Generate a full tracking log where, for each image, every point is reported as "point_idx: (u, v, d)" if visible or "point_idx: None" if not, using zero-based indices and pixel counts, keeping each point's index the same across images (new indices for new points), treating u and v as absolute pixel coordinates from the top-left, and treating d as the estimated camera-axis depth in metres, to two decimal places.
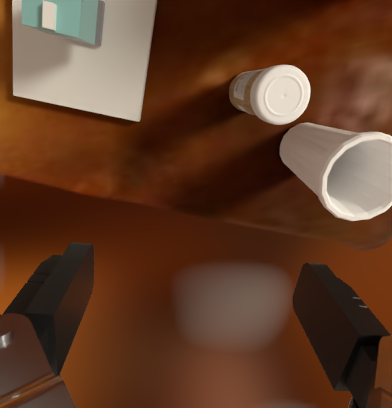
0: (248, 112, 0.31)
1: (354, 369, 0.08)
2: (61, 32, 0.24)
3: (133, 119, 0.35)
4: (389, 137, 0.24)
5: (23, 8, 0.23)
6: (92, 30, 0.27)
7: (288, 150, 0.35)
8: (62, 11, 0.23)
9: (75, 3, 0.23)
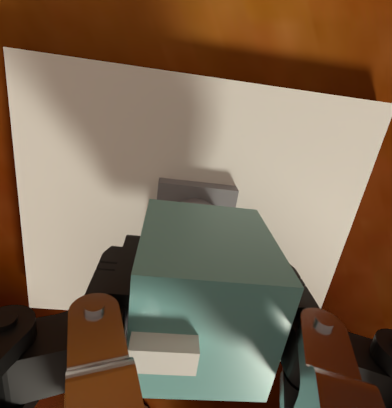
0: None
1: None
2: None
3: (31, 299, 0.18)
4: None
5: (175, 282, 0.07)
6: None
7: None
8: None
9: (203, 390, 0.09)
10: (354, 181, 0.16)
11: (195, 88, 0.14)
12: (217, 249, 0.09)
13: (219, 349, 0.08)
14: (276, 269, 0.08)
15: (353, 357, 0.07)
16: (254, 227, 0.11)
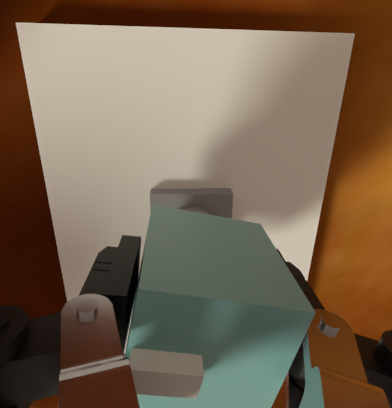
0: None
1: None
2: None
3: (33, 27, 0.12)
4: None
5: (184, 299, 0.07)
6: None
7: None
8: None
9: None
10: None
11: (310, 210, 0.16)
12: (225, 265, 0.08)
13: (222, 370, 0.08)
14: (286, 290, 0.08)
15: (360, 359, 0.07)
16: (260, 242, 0.10)
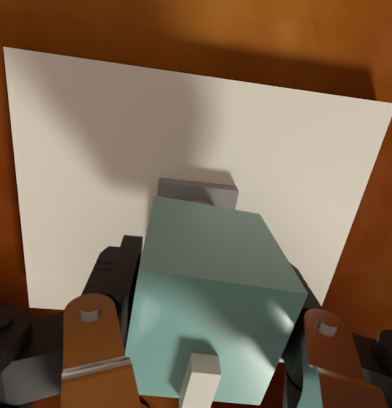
0: None
1: None
2: (218, 399, 0.09)
3: (31, 299, 0.18)
4: None
5: None
6: None
7: None
8: (232, 365, 0.09)
9: (270, 349, 0.08)
10: (354, 181, 0.16)
11: (195, 88, 0.14)
12: None
13: (212, 336, 0.08)
14: None
15: (357, 358, 0.07)
16: None
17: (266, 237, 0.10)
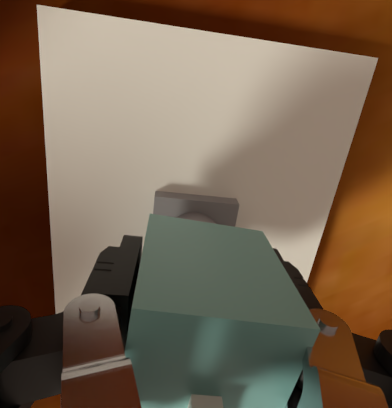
0: None
1: None
2: None
3: (54, 11, 0.11)
4: None
5: None
6: None
7: None
8: (236, 406, 0.08)
9: (278, 388, 0.08)
10: None
11: (313, 228, 0.16)
12: None
13: (215, 377, 0.07)
14: None
15: (357, 358, 0.07)
16: None
17: (271, 259, 0.10)
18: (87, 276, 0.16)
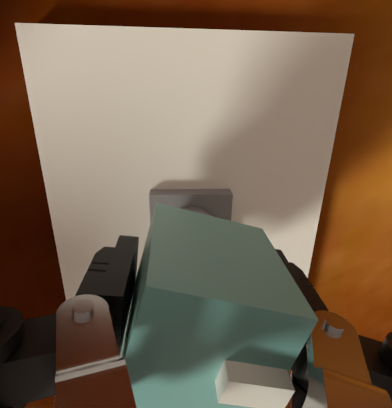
0: None
1: None
2: (293, 357, 0.08)
3: (32, 27, 0.12)
4: None
5: None
6: (243, 236, 0.11)
7: None
8: (241, 348, 0.08)
9: (225, 315, 0.07)
10: None
11: (310, 210, 0.16)
12: None
13: (196, 365, 0.08)
14: None
15: (365, 361, 0.07)
16: None
17: (151, 235, 0.09)
18: None
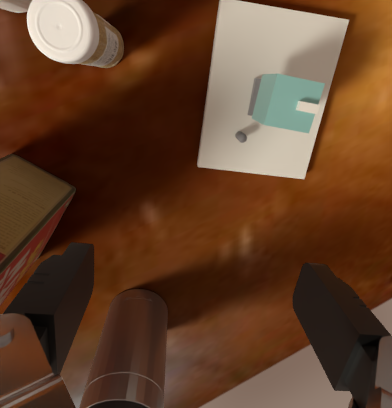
0: (95, 14, 0.26)
1: (354, 369, 0.08)
2: (318, 99, 0.27)
3: (226, 0, 0.31)
4: None
5: (298, 130, 0.28)
6: None
7: None
8: (303, 95, 0.26)
9: (298, 83, 0.26)
10: (275, 170, 0.38)
11: (321, 100, 0.35)
12: None
13: (290, 103, 0.27)
14: None
15: None
16: None
17: (267, 77, 0.28)
18: (218, 121, 0.35)
